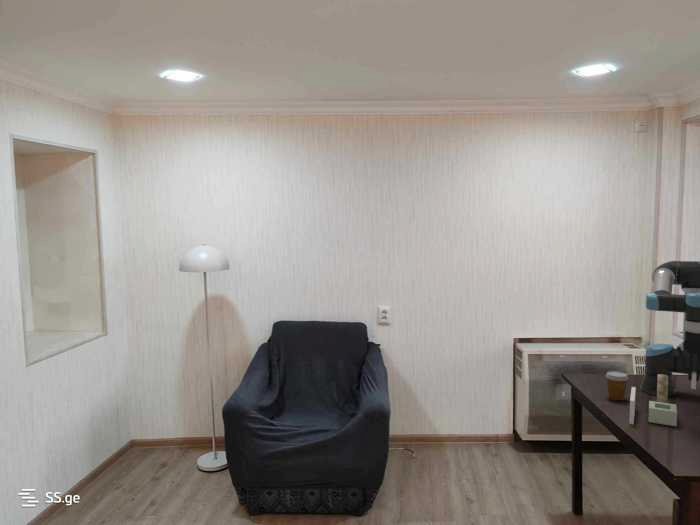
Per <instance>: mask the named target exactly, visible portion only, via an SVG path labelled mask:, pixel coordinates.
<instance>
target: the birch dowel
mask: <svg viewBox="0 0 700 525" xmlns="http://www.w3.org/2000/svg"><path fill="white" fill-rule="evenodd" d="M668 397H669V396H668V376H667V375H664V374H658V381H657V395H656V402H662V403H668Z"/></svg>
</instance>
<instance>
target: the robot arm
mask: <svg viewBox="0 0 700 525" xmlns="http://www.w3.org/2000/svg"><path fill="white" fill-rule="evenodd" d="M651 279H652V282H653V287H652V292H648V293H646V296H645V297H646V298H645V308H646V310H649V311H655V312H658V311H659V312H671V313H672V312H673V313H683V326H682V328H683V329H682V342H681V343H680V344H678V346H676V348H675V347H674V345H673V344H669V343H653V344H650V345H648V346H646V348H645V354H644V356H645V363H644V375H643V378H642V381H641V383H640V385H639V388H640V391H641V390H642V391H641V392H643V391H644V392H643V393H645V392H646V394H647V395H648V394H649V395H652V396H657V381H658V374H664V375H667V376H668V396H667V397H674V396H676V394H677V388H676V385H675V382H674V378H673V373H674V374H680V375H681V374H683V375H687V380H688V381H690V389H692V390H696V389H697V388H696V387H697V382H699V381H700V260H699V261H696V260H694V261H692V260H691V261H689V260H688V261H686V260H671V261H668V262H667V261H666V262H664V263H662V264H659V265H658V266H657V267H656V268H655V269H654V270H653V272H652V275H651ZM673 285H678V286H680V289H681V290H682V291H683V292H684V294H674V293H673Z"/></svg>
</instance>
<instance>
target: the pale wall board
mask: <svg viewBox="0 0 700 525" xmlns="http://www.w3.org/2000/svg"><path fill="white" fill-rule="evenodd" d="M636 389H637V388H636V386H631V391H630V399H629V418H628V419H629V422H628V423H629V425H634V424H635V423H634V422H635V412H636V392H637V390H636Z"/></svg>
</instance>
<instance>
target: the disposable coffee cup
mask: <svg viewBox="0 0 700 525" xmlns="http://www.w3.org/2000/svg"><path fill="white" fill-rule="evenodd" d="M605 377H606V382H607V390H608V391H607V392H608V398H609V399H610V400H612V401H616V400H622V401H624V400H625V395H626V389H627V383H628V379H629V377H628V374H627V373H625V372H623V371H616V370H615V371H614V370H612V371H611V370H610V371H607V373H606V374H605Z"/></svg>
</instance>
